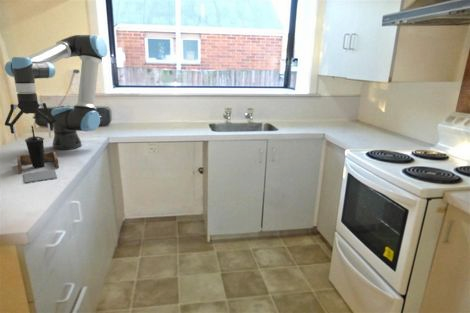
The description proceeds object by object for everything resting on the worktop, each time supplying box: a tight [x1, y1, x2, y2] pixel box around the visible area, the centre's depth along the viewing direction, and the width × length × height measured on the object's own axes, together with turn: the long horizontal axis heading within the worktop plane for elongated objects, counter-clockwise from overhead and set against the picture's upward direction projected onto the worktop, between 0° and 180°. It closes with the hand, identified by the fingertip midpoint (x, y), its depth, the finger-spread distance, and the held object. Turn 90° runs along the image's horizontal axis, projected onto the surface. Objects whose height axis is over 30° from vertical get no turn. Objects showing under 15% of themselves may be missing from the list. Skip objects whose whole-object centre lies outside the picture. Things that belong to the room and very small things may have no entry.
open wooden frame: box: [16, 151, 60, 175], centre depth 156 cm, size 16×15×4 cm
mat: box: [23, 168, 58, 184], centre depth 144 cm, size 12×12×1 cm
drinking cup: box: [24, 125, 45, 169], centre depth 154 cm, size 8×8×20 cm
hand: (33, 138), depth 152 cm, fingers open, 13 cm apart
